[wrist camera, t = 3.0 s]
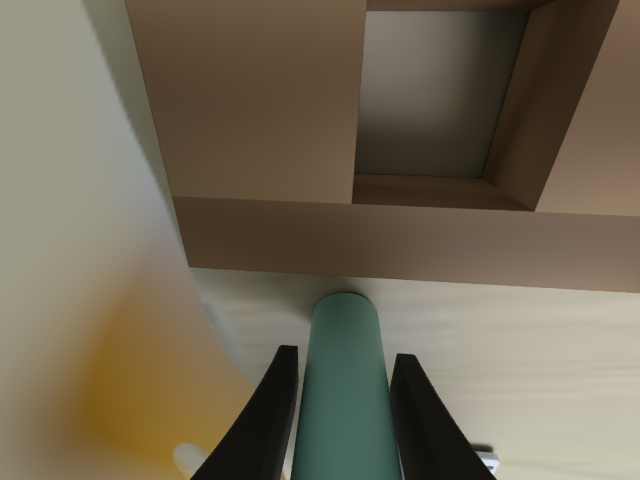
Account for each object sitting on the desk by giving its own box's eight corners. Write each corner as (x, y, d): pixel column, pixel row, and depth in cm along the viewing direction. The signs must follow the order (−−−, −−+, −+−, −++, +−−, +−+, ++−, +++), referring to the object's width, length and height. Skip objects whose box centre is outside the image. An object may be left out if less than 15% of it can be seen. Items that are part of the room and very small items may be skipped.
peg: (373, 343, 14) (416, 696, 6) (312, 339, 14) (270, 675, 6) (381, 294, 12) (452, 673, 4) (312, 290, 12) (258, 646, 4)
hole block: (596, 243, 10) (683, 295, 8) (225, 225, 11) (188, 267, 8) (795, -119, 6) (1138, -277, 3) (174, -106, 7) (70, -227, 4)
